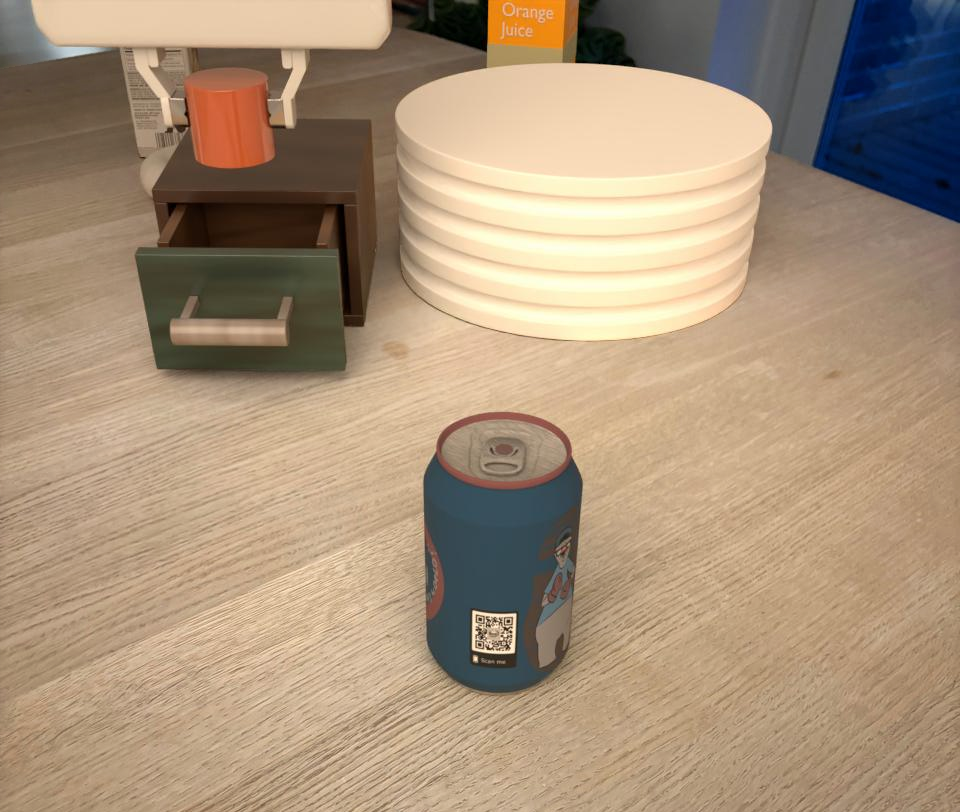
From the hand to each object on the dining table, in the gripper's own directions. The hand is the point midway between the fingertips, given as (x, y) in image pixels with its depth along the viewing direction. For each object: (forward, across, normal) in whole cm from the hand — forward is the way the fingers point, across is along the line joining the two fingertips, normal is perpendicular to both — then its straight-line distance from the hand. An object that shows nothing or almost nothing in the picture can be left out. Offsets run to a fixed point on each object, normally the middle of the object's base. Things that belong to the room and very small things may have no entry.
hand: (231, 125), depth 69 cm
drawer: (+14, 0, -1) cm, 14 cm away
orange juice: (+15, -21, -52) cm, 59 cm away
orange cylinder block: (+2, 0, 0) cm, 2 cm away
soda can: (+15, -16, +32) cm, 39 cm away
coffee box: (+15, +15, -45) cm, 50 cm away
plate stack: (+15, -23, -16) cm, 32 cm away
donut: (+15, +10, -31) cm, 36 cm away
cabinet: (+15, 0, -12) cm, 20 cm away
